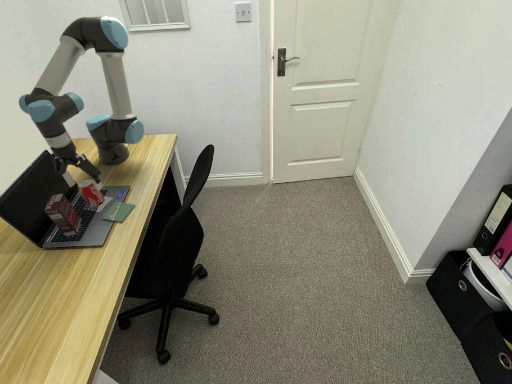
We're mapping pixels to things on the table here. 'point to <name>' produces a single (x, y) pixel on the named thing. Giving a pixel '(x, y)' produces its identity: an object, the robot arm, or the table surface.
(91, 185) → the soda can
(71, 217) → the supplement box
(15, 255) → the table surface
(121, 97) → the robot arm
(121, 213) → the coaster
